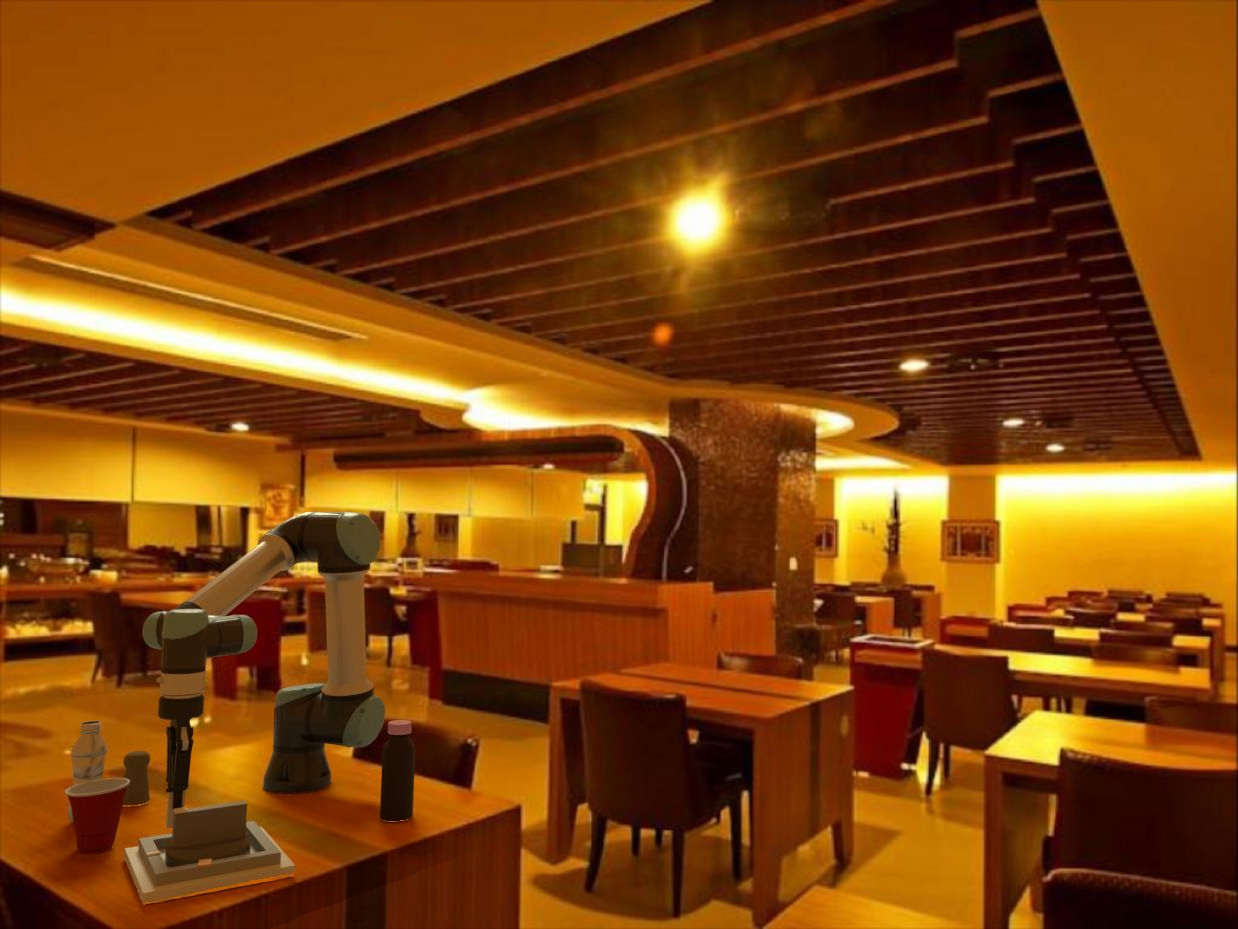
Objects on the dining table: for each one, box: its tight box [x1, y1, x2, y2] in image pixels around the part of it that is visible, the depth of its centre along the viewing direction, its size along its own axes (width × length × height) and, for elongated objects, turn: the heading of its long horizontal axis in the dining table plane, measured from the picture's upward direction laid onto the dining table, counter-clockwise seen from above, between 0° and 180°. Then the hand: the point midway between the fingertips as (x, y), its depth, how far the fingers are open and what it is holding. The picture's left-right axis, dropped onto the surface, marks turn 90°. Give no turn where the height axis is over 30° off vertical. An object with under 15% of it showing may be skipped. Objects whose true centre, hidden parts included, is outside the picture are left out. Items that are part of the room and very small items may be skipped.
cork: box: [123, 750, 151, 806], centre depth 203 cm, size 6×6×11 cm
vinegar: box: [379, 719, 416, 822], centre depth 197 cm, size 7×7×20 cm
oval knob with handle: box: [165, 800, 251, 867], centre depth 167 cm, size 14×14×9 cm
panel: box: [123, 820, 296, 903], centre depth 166 cm, size 24×24×4 cm
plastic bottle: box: [67, 720, 108, 823], centre depth 190 cm, size 6×7×20 cm
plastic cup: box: [64, 777, 130, 855], centre depth 175 cm, size 11×11×12 cm
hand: (174, 826), depth 169 cm, fingers closed
